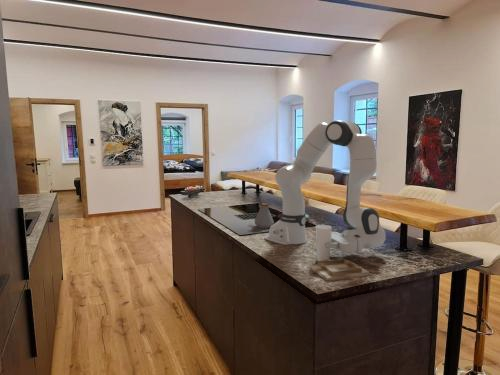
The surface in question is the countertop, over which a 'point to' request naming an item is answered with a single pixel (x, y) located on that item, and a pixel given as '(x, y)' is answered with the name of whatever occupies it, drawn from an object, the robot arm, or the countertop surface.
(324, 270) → the holder board
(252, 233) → the countertop surface
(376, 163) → the robot arm
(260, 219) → the coffee pot
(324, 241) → the drinking glass
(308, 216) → the donut
